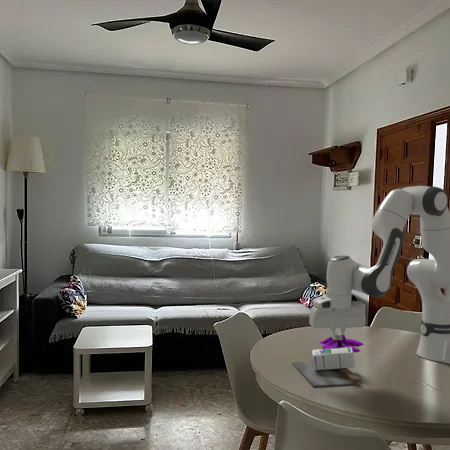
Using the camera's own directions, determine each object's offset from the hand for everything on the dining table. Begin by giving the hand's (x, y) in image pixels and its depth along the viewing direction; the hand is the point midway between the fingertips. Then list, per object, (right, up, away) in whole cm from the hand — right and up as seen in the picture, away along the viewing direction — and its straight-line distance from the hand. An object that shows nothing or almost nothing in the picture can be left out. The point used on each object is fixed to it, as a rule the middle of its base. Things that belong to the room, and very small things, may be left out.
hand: (337, 339), depth 162 cm
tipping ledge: (-5, -12, 0) cm, 13 cm away
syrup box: (+6, -7, +1) cm, 9 cm away
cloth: (+9, -12, +34) cm, 37 cm away
